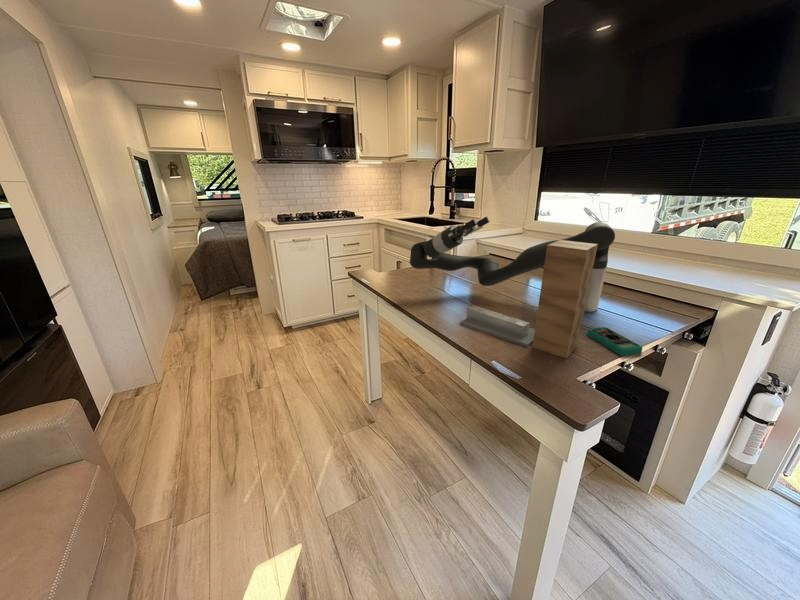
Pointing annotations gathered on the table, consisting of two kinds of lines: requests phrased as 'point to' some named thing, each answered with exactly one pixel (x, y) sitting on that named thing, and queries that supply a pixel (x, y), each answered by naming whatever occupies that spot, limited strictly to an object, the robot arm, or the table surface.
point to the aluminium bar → (498, 321)
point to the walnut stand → (563, 296)
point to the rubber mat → (501, 333)
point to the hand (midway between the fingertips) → (481, 220)
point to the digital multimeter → (614, 341)
